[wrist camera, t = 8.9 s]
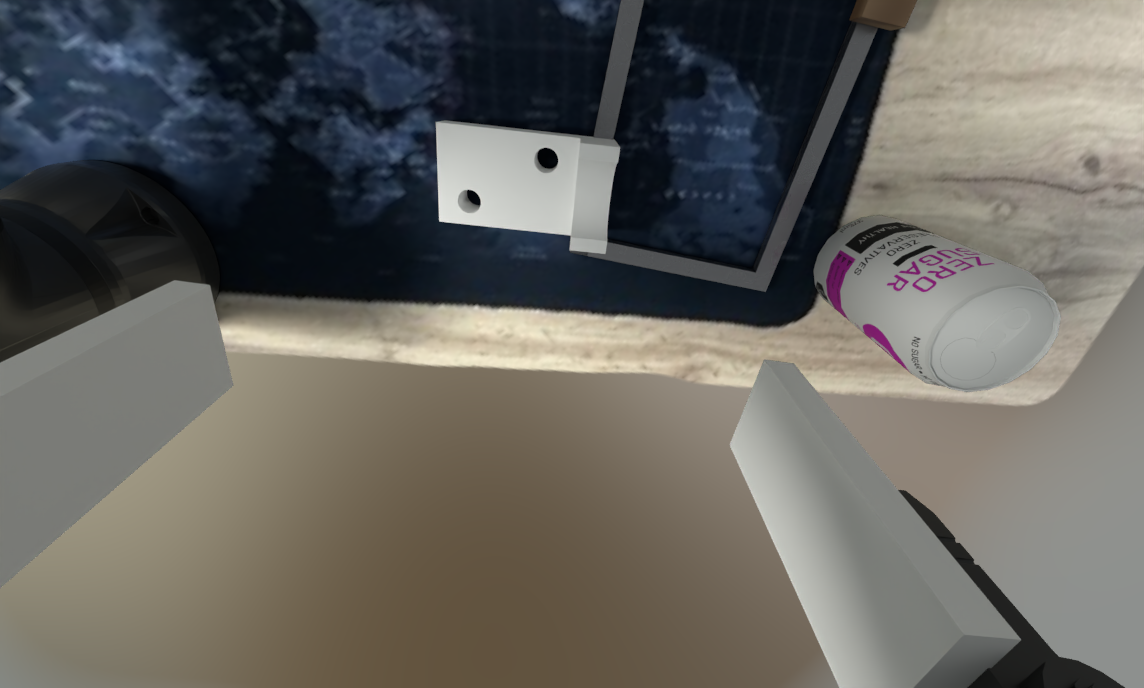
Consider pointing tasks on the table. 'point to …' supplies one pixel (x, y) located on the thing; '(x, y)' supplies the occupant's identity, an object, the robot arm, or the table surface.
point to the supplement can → (937, 303)
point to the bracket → (526, 181)
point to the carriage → (883, 13)
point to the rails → (797, 182)
